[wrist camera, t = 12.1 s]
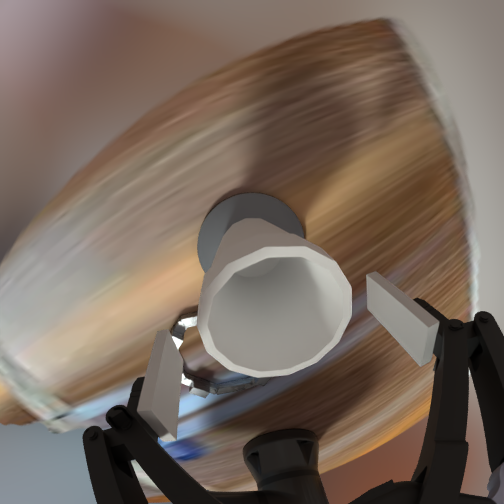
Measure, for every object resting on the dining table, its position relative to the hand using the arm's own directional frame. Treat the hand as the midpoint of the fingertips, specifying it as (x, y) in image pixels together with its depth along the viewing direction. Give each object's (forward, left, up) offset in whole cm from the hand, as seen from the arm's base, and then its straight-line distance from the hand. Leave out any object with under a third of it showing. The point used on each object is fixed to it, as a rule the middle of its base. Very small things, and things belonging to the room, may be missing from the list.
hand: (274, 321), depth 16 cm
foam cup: (0, 0, -12) cm, 12 cm away
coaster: (+1, 0, -13) cm, 13 cm away
